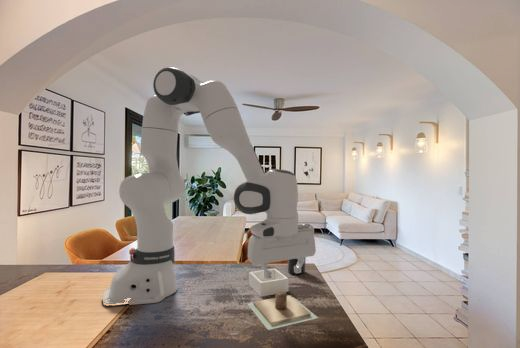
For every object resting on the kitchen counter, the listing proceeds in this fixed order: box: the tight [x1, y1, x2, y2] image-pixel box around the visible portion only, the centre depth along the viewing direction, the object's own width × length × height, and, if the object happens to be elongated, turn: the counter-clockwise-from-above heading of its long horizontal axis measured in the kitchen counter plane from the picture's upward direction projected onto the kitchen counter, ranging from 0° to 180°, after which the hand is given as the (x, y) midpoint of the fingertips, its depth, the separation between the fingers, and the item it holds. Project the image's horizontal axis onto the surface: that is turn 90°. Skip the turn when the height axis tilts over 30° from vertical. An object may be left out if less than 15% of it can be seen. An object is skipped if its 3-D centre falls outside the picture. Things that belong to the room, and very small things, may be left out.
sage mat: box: [246, 294, 319, 331], centre depth 80 cm, size 15×15×1 cm
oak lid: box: [252, 291, 311, 326], centre depth 80 cm, size 12×12×5 cm
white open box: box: [248, 268, 290, 298], centre depth 95 cm, size 10×10×5 cm
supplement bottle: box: [287, 257, 307, 276], centre depth 111 cm, size 7×7×12 cm
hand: (283, 275), depth 80 cm, fingers open, 8 cm apart
